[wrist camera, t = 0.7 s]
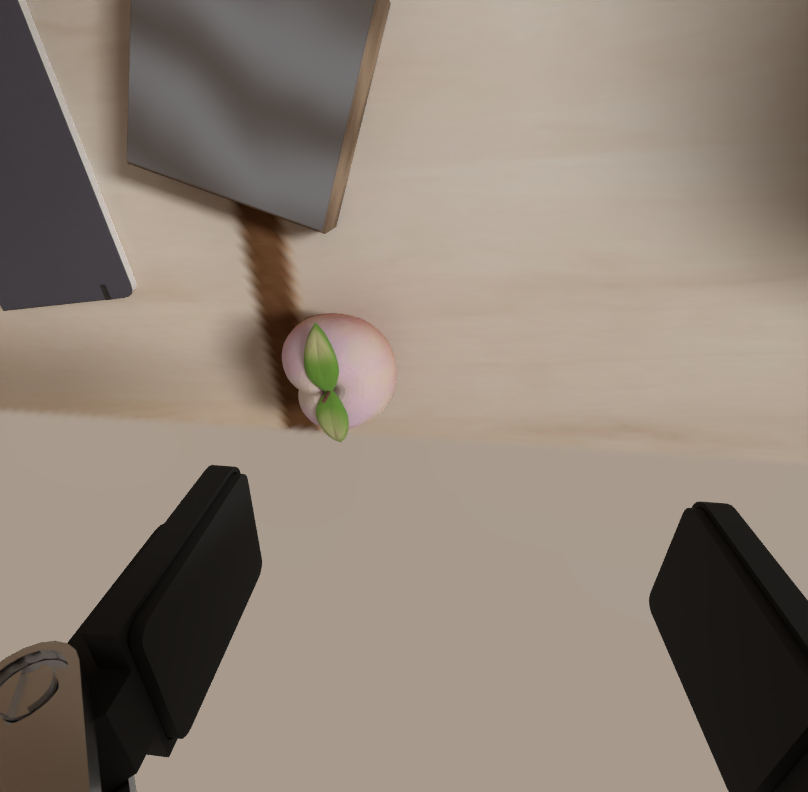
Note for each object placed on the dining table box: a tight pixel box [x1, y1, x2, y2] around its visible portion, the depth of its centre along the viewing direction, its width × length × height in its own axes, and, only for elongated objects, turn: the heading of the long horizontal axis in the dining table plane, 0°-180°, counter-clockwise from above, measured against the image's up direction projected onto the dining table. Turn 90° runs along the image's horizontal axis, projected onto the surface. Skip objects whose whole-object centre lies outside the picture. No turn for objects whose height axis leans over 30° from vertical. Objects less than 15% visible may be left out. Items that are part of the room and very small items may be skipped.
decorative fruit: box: [282, 313, 397, 442], centre depth 36 cm, size 9×8×10 cm
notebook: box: [0, 0, 137, 311], centre depth 35 cm, size 13×2×21 cm
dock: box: [127, 0, 390, 234], centre depth 30 cm, size 14×14×4 cm
